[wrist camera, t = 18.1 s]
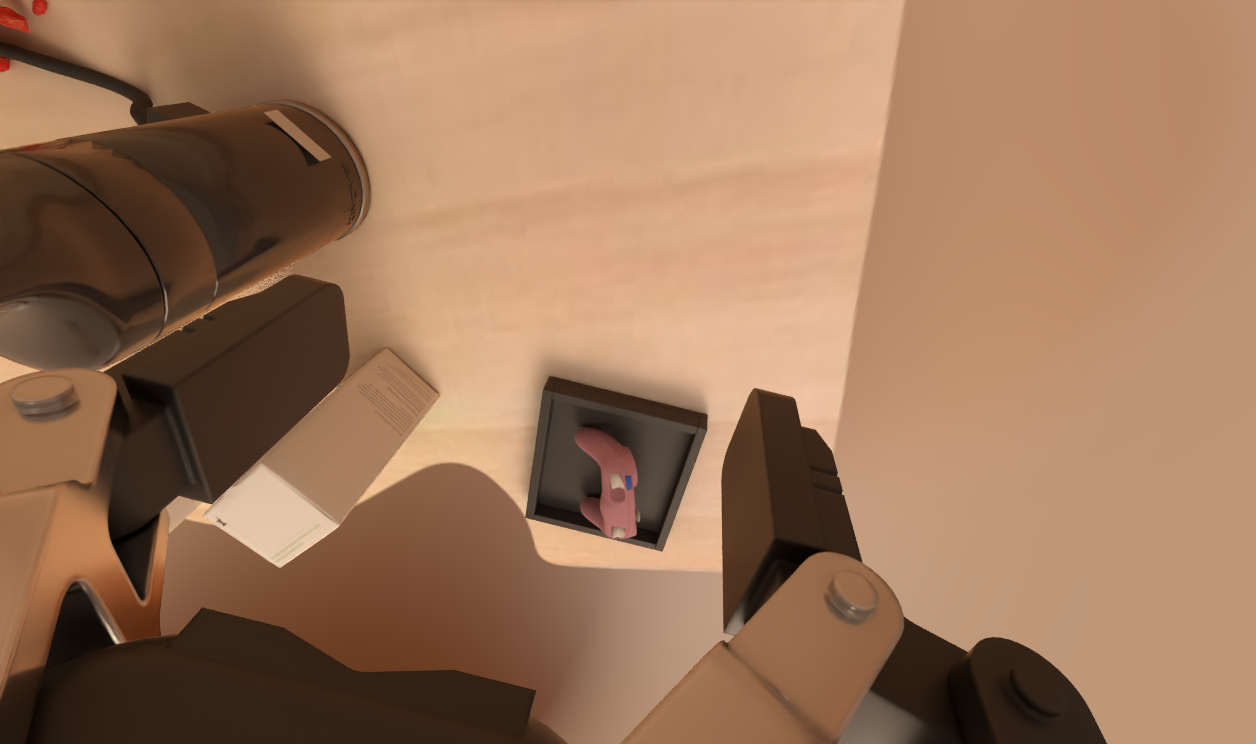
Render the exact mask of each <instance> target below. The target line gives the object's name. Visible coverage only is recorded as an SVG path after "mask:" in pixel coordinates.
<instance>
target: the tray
mask: <svg viewBox="0 0 1256 744" xmlns="http://www.w3.org/2000/svg"><path fill="white" fill-rule="evenodd" d="M707 419H708V415H705V414H701V413H697V412H693V411H689V410H685V409H681V408H677V407H673V406H669V405H665V404H660V403H656V402H652V401H648V400H644V399H640V398H636V397H632V396H628V395H624V394H620V393H616V392H612V391H608V390H603V389H599V388H595V387H591V386H587V385H583V384H579V383H575V382H571V381H567V380H563V379H559V378H555V377H551V376H550V377H549V378H548V381H547V383H546V385H545V387H544V389H543V395H542V402H541V409H540V416H539V423H538V431H537V438H536V445H535V452H534V459H533V467H532V474H531V481H530V488H529V495H528V502H527V510H526V518H528V519H532V520H533V519H534V520H536V521H540V522H544V523H548V524H553V525H557V526H561V527H565V528H569V529H573V530H577V531H581V532H585V533H589V534H593V535H597V536H601V537H605V538H609V537H607V536H606V535H605V534H604V532H603V531H602V530H601V529H600V528H599V527H597V526H596V525H595V524H593V523H592V522H591V521H589V520H588V519H587V518H586V517H585V516H584V515H583V514H582V512H581V510H580V503H581V501H582V500H583V499H584V498H586V497H596V498H601V494H602V478H601V468H600V465H599V464H598V463H597V462H596V461H595V460H594V459H593V458H592V457H591V456H590V455H589V454H587V453H586V452H585V451H584V450H582V449H581V448H580V447H579V446H578V445H577V443H576V441H575V433H576V432H577V431H578V430H579V429H581V428H582V427H591V428H595V429H598V430H601V431H603V432H605V433H606V434H608V435H610V436H611V437H613V438H614V439H615V440H617V441H618V442H619V443H620V444H622V445H623V446H627V447H628V448H629V449H630V451H631V453H632V455H633V458H634V461H635V465H636V469H637V476H638V482H637V485H636V487H634V497H635V508H636V509H637V510H638V511H639V513H640V521H639V522H637V520H636V527H637V533H636V536H633V537H629V538H625V539H617V538H614V539H613V540H617V541H621V542H625V543H629V544H634V545H638V546H642V547H646V548H650V549H655V550H658V551H663V549H664V546H665V543H666V540H667V538H668V535H669V532H670V530H671V527H672V524H673V521H674V519H675V516H676V513H677V511H678V508H679V505H680V502H681V500H682V497H683V494H684V492H685V489H686V486H687V483H688V481H689V478H690V475H691V473H692V470H693V467H694V464H695V462H696V459H697V456H698V454H699V451H700V448H701V445H702V443H703V440H704V437H705V434H706V432H707ZM609 539H612V538H609Z"/></svg>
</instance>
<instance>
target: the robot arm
mask: <svg viewBox="0 0 1256 744" xmlns="http://www.w3.org/2000/svg"><path fill="white" fill-rule="evenodd" d="M0 56H3V57H6V58H10V59H14V60H17V61H20V62H23V63H27V64H30V65H33V66H36V67H39V68H42V69H45V70H48V71H51V72H54V73H58V74H61V75H64V76H68V77H71V78H74V79H78V80H81V81H84V82H87V83H91V84H94V85H97V86H100V87H103V88H106V89H108V90H111V91H114V92H116V93H118V94H120V95H123V96H124V97H126V98H128V99H130V100H131V101H133V103H132V105H131V108H130V114H131V116H132V118H133V119H134V120H135V122H136V123H137V124H138V125H139V126H133V127H127V128H121V129H116V130H110V131H104V132H98V133H92V134H86V135H81V136H75V137H69V138H63V139H57V140H54V141H48V142H42V143H36V144H30V145H24V146H19V147H13V148H7V149H1V150H0V356H1V357H4V358H6V359H8V360H11V361H13V362H15V363H18V364H21V365H24V366H27V367H30V368H33V369H36V370H40V371H39V372H34V373H30V374H26V375H22V376H19V377H16V378H13V379H10V380H8V381H5V382H3V383H1V384H0V744H567V743H566V742H565V740H564V739H562V738H561V737H560V736H559V735H558V734H556V733H555V732H554V731H553V730H552V729H550V728H549V727H548V726H547V725H545V724H543V723H542V722H540V721H538V720H537V719H535V718H534V717H532V716H531V713H532V708H533V704H534V699H535V694H536V690H532V689H528V688H524V687H520V686H516V685H512V684H508V683H504V682H500V681H496V680H492V679H488V678H484V677H480V676H476V675H472V674H468V673H464V672H460V671H455V670H440V671H439V670H436V671H398V672H397V671H396V672H359V671H355V670H352V669H350V668H348V667H346V666H345V665H343V664H341V663H340V662H338V661H337V660H335V659H333V658H332V657H330V656H329V655H327V654H325V653H324V652H322V651H320V650H319V649H317V648H316V647H314V646H312V645H311V644H309V643H308V642H306V641H304V640H303V639H301V638H299V637H298V636H296V635H295V634H293V633H291V632H290V631H288V630H287V629H285V628H282V627H278V626H274V625H270V624H266V623H262V622H258V621H254V620H250V619H246V618H242V617H238V616H234V615H230V614H226V613H222V612H218V611H214V610H210V609H206V608H201V609H200V611H199V612H198V613H197V614H196V615H195V616H194V617H193V618H192V620H191V621H190V622H189V623H188V624H187V625H186V626H185V628H184V629H183V630H182V631H181V632H180V633H179V634H171V635H163V636H161V632H160V620H159V619H160V606H161V597H162V588H163V580H164V571H165V562H166V552H167V544H168V535H169V527H170V516H169V513H168V511H167V508H166V506H168V505H169V504H170V503H171V502H172V501H173V500H174V499H176V498H177V497H178V496H181V497H185V498H189V499H193V500H197V501H201V502H205V503H209V504H213V503H214V502H215V501H216V500H217V499H218V498H219V497H220V496H221V495H222V494H223V493H224V492H225V491H227V490H228V489H229V488H230V487H231V486H232V485H233V484H234V483H235V482H236V481H237V480H238V479H239V478H240V477H241V476H242V475H243V474H244V473H246V472H247V471H248V470H249V469H250V468H251V467H252V466H253V465H254V464H255V463H256V462H257V461H258V460H259V459H260V458H261V457H262V456H263V455H264V454H266V453H267V452H268V451H269V450H270V449H271V448H272V447H273V446H274V445H275V444H276V443H277V442H278V441H279V440H280V439H281V438H282V437H283V436H285V435H286V434H287V433H288V432H289V431H290V430H291V429H292V428H293V427H294V426H295V425H296V424H297V423H298V422H299V421H300V420H301V419H302V418H304V417H305V416H306V415H307V414H308V413H309V412H310V411H311V410H312V409H313V408H314V407H315V406H316V405H317V404H318V403H319V402H320V401H321V400H323V399H324V398H325V397H326V396H327V395H328V394H329V393H330V392H331V391H332V390H333V389H334V388H335V387H336V386H337V385H338V384H339V383H340V382H341V380H342V379H343V377H344V375H345V373H346V371H347V368H348V364H349V356H350V354H349V343H348V334H347V324H346V314H345V305H344V297H343V293H342V290H341V288H340V287H339V286H338V285H336V284H333V283H329V282H325V281H321V280H317V279H313V278H309V277H305V276H301V275H290V276H288V277H286V278H284V279H283V280H281V281H279V282H278V283H276V284H274V285H272V286H271V287H269V288H267V289H266V290H264V291H262V292H260V293H257V294H253V295H250V296H246V297H243V298H239V299H236V300H232V301H229V302H227V303H225V304H223V305H222V306H220V307H218V308H216V309H214V310H213V311H211V312H209V313H207V314H206V315H204V318H203V319H200V318H198V319H197V320H195V321H193V322H191V323H190V324H188V325H186V326H184V327H183V330H182V331H180V330H177V331H175V332H174V333H172V334H170V335H168V336H167V337H165V338H163V339H161V340H159V341H158V342H156V343H154V344H152V345H151V346H149V347H147V348H145V349H143V350H142V351H140V352H138V353H136V354H135V355H133V356H131V357H129V358H127V359H126V360H124V361H122V362H120V363H119V364H117V365H115V366H113V367H112V368H110V369H108V370H106V371H104V372H100V371H97V370H99V369H102V368H105V367H107V366H109V365H111V364H114V363H116V362H117V361H119V360H121V359H123V358H125V357H127V356H129V355H131V354H132V353H134V352H136V351H138V350H139V349H141V348H143V347H145V346H146V345H148V344H150V343H152V342H154V341H156V340H157V339H159V338H161V337H163V336H165V335H166V334H168V333H170V332H172V331H174V330H175V329H177V328H179V327H181V326H182V325H184V324H186V323H188V322H190V321H191V320H193V319H195V318H196V317H198V316H200V315H202V314H203V313H205V312H207V311H209V310H211V309H212V308H214V307H216V306H218V305H219V304H221V303H223V302H225V301H227V300H228V299H230V298H232V297H234V296H236V295H237V294H239V293H241V292H243V291H244V290H246V289H248V288H250V287H252V286H253V285H255V284H257V283H259V282H261V281H262V280H264V279H266V278H268V277H270V276H271V275H273V274H275V273H277V272H278V271H280V270H282V269H284V268H286V267H287V266H289V265H291V264H293V263H295V262H296V261H298V260H300V259H302V258H304V257H305V256H307V255H309V254H311V253H312V252H314V251H316V250H318V249H320V248H321V247H323V246H325V245H327V244H329V243H330V242H332V241H335V240H338V239H341V238H342V237H344V236H346V235H348V234H350V233H351V232H353V231H354V230H355V229H357V228H358V227H359V225H360V224H361V223H362V222H363V220H364V218H365V216H366V214H367V211H368V208H369V202H370V186H369V180H368V175H367V172H366V169H365V166H364V163H363V161H362V159H361V157H360V155H359V153H358V151H357V149H356V148H355V146H354V145H353V143H352V142H351V140H350V139H349V138H348V137H347V135H346V134H345V133H344V132H343V131H342V130H341V129H340V128H339V127H338V126H337V125H336V124H335V123H334V122H333V121H332V120H330V119H329V118H328V117H326V116H325V115H324V114H322V113H321V112H319V111H317V110H315V109H313V108H311V107H309V106H307V105H304V104H301V103H298V102H294V101H287V100H276V101H270V102H264V103H261V104H257V105H255V106H251V107H245V108H239V109H232V110H226V111H220V112H215V113H210V112H208V111H206V110H204V109H202V108H200V107H198V106H196V105H194V104H192V103H189V102H185V103H178V104H171V105H164V106H157V107H153V103H152V101H151V100H150V98H149V97H148V96H147V95H146V94H144V93H143V92H142V91H140V90H138V89H137V88H135V87H133V86H131V85H129V84H127V83H125V82H123V81H121V80H118V79H116V78H113V77H111V76H108V75H105V74H103V73H100V72H97V71H94V70H91V69H88V68H85V67H81V66H78V65H75V64H72V63H68V62H65V61H62V60H58V59H55V58H52V57H49V56H46V55H42V54H39V53H36V52H33V51H30V50H27V49H24V48H21V47H18V46H15V45H11V44H8V43H4V42H0ZM837 473H838V472H837V468H836V465H835V461H834V457H833V454H832V451H831V449H830V448H829V447H828V446H827V444H826V443H825V442H824V440H823V439H822V438H821V436H820V435H819V434H818V432H817V431H816V430H814V429H809V428H805V427H801V424H800V419H799V414H798V410H797V405H796V401H795V399H794V398H793V397H790V396H786V395H781V394H777V393H773V392H769V391H765V390H761V389H757V388H754V389H753V390H752V392H751V393H750V395H749V397H748V399H747V402H746V404H745V407H744V409H743V412H742V414H741V417H740V419H739V422H738V424H737V427H736V429H735V431H734V434H733V436H732V439H731V441H730V444H729V446H728V449H727V452H726V455H725V459H724V464H723V469H722V480H721V483H722V554H723V620H724V621H723V622H724V623H723V624H724V633H725V634H730V635H733V636H734V637H733V638H732V639H731V640H730V641H729V642H728V643H726V642H725V641H720V642H719V643H717V644H716V645H715V646H714V647H713V648H712V649H711V650H710V651H709V652H708V653H707V654H706V655H705V656H704V657H703V658H702V659H701V660H700V661H699V662H698V663H697V664H696V665H695V666H694V667H693V668H692V669H691V670H690V671H689V672H688V674H687V675H685V676H684V678H683V679H682V680H681V681H680V682H679V683H678V684H677V685H676V686H675V687H674V688H673V689H672V690H671V691H670V692H669V693H668V694H667V695H666V696H665V697H664V698H663V700H662V701H661V702H660V703H659V704H658V705H657V706H656V707H655V708H654V709H653V710H652V711H651V712H650V713H649V714H648V715H647V716H646V717H645V718H644V719H643V720H642V721H641V722H640V723H639V725H638V726H637V727H636V728H635V729H634V730H633V731H632V732H631V733H630V734H629V735H628V736H627V737H626V738H625V739H624V740H623V741H622V742H621V743H620V744H1107V743H1106V741H1105V739H1104V737H1103V735H1102V733H1101V731H1100V729H1099V727H1098V725H1097V723H1096V721H1095V719H1094V717H1093V715H1092V713H1091V711H1090V709H1089V707H1088V706H1087V704H1086V702H1085V701H1084V699H1083V698H1082V696H1081V695H1080V693H1079V692H1078V691H1077V689H1076V688H1075V687H1074V686H1073V685H1072V683H1071V682H1070V681H1069V680H1068V679H1067V678H1066V677H1065V676H1064V675H1063V674H1062V673H1061V672H1060V671H1059V670H1058V669H1057V668H1056V667H1055V666H1053V665H1052V664H1051V663H1050V662H1049V661H1047V660H1046V659H1045V658H1043V657H1042V656H1041V655H1039V654H1038V653H1036V652H1034V651H1033V650H1031V649H1029V648H1028V647H1026V646H1024V645H1021V644H1019V643H1017V642H1014V641H1011V640H1008V639H1004V638H996V637H992V638H985V639H983V640H981V641H979V642H978V643H977V644H976V645H975V646H974V647H973V648H972V649H971V650H970V651H969V652H967V651H965V650H963V649H961V648H959V647H957V646H955V645H954V644H952V643H950V642H948V641H946V640H944V639H942V638H940V637H938V636H937V635H935V634H933V633H931V632H929V631H927V630H925V629H923V628H921V627H920V626H918V625H916V624H914V623H913V622H911V621H909V620H908V619H906V618H905V617H904V615H903V611H902V608H901V606H900V604H899V601H898V599H897V597H896V596H895V594H894V592H893V591H892V589H891V588H890V587H889V586H888V584H887V583H886V582H885V581H884V580H883V579H882V578H881V577H880V576H879V575H878V574H876V572H874V571H873V570H872V569H871V568H869V567H868V566H866V565H865V564H863V563H862V559H861V555H860V552H859V548H858V544H857V541H856V537H855V534H854V530H853V526H852V523H851V519H850V516H849V512H848V508H847V505H846V501H845V497H844V495H842V491H843V490H842V487H841V483H840V479H839V477H837Z"/></svg>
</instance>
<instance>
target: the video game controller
mask: <svg viewBox="0 0 1256 744" xmlns="http://www.w3.org/2000/svg"><path fill="white" fill-rule="evenodd" d="M575 441H576V443H577V445H578V446H579V447H580V448H581V449H582V450H584V451H585V452H586V453H587V454H589V455H590V456H591V457H592V458H593V459H594V460H595V461H596V462H597V463H598V464H599V465H600V468H601V478H602V494H601V498H596V497H586V498H584V499H583V500H582V501H581V503H580V510H581V512H582V514H583V515H584V516H585V517H586V518H587V519H588V520H589V521H591V522H592V523H593V524H595V525H596V526H597V527H599V528H600V529H601V530H602V531H603V532H604V534H605V535H606V536H607V537H609V538H612V539H614V538H617V539H625V538H629V537H633V536H636V533H637V527H636V520H637V522H639V521H640V513H639V511H638V510H637V509H636V508H635V497H634V487H636V485H637V482H638V476H637V469H636V465H635V461H634V458H633V455H632V453H631V451H630V449H629V448H628V447H627V446H623V445H622V444H620V443H619V442H618V441H617V440H615V439H614V438H613V437H611V436H610V435H608V434H606V433H605V432H603V431H601V430H598V429H595V428H591V427H582V428H581V429H579V430H578V431H577V432H576V433H575Z"/></svg>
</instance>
